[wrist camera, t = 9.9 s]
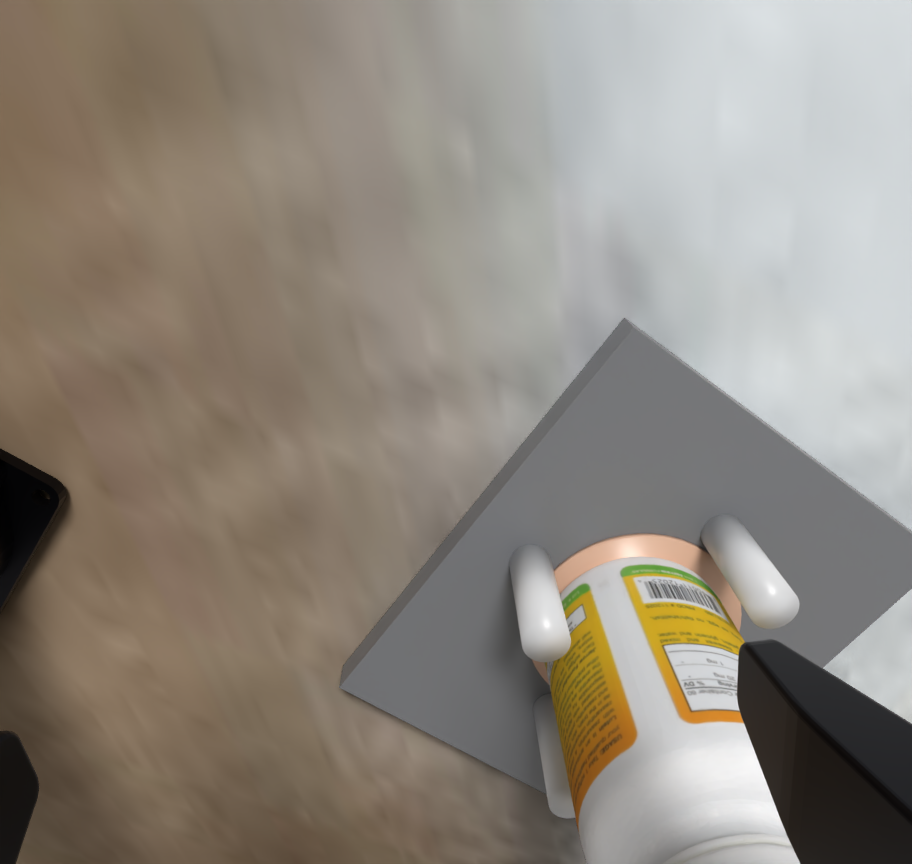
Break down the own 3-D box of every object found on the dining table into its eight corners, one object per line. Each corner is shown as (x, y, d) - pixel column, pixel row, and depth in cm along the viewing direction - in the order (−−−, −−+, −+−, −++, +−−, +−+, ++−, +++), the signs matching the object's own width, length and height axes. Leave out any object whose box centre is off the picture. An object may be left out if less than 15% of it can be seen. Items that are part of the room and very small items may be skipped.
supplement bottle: (578, 720, 23) (666, 1101, 14) (511, 592, 21) (564, 939, 12) (742, 661, 22) (948, 1024, 13) (688, 522, 20) (886, 839, 11)
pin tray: (624, 813, 26) (658, 942, 22) (343, 665, 23) (322, 781, 19) (923, 540, 22) (1036, 636, 18) (624, 317, 19) (675, 371, 15)
